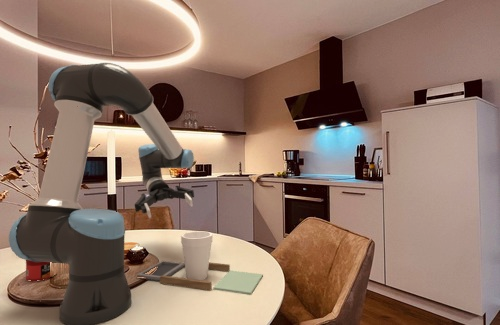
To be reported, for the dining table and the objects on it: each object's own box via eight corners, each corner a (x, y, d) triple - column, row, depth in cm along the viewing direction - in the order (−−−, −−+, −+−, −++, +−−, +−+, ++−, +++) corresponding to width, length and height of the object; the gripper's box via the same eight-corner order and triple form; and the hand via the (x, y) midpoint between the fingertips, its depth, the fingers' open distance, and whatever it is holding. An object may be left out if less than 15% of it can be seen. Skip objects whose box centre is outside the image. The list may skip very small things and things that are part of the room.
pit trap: (162, 281, 81) (162, 277, 81) (136, 278, 83) (136, 274, 83) (184, 266, 93) (184, 263, 93) (162, 263, 96) (162, 260, 96)
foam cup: (179, 273, 87) (179, 232, 88) (207, 269, 91) (207, 230, 91) (184, 285, 79) (184, 240, 79) (215, 280, 82) (215, 236, 82)
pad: (251, 294, 73) (251, 292, 73) (213, 289, 76) (213, 287, 76) (262, 275, 85) (262, 274, 85) (230, 271, 89) (230, 270, 89)
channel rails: (210, 290, 75) (210, 283, 75) (160, 283, 80) (160, 276, 80) (229, 270, 90) (229, 264, 90) (186, 265, 94) (186, 259, 94)
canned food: (45, 282, 81) (45, 245, 81) (18, 282, 81) (19, 244, 81) (63, 272, 88) (63, 238, 89) (39, 272, 89) (39, 238, 89)
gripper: (190, 190, 113) (208, 208, 95) (125, 205, 102) (132, 230, 84) (187, 173, 111) (206, 188, 93) (121, 187, 100) (127, 208, 82)
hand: (171, 208), depth 89 cm, fingers open, 13 cm apart
